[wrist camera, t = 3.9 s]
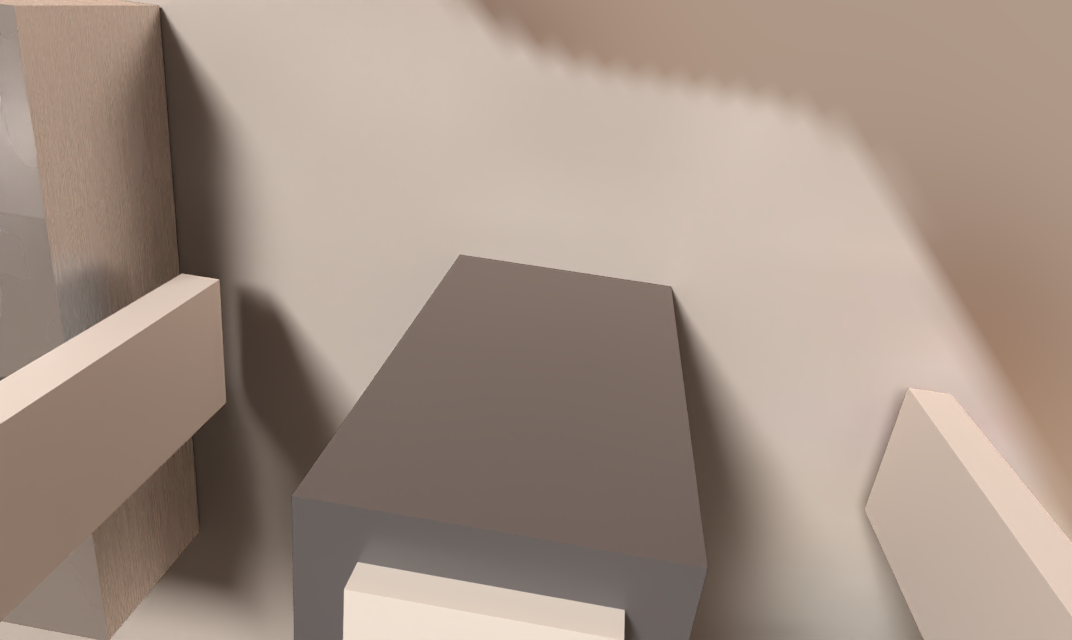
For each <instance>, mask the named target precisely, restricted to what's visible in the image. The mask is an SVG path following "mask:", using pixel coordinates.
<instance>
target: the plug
mask: <svg viewBox="0 0 1072 640" xmlns="http://www.w3.org/2000/svg"><path fill="white" fill-rule="evenodd" d="M292 537H293V598H294V640H689V638H690V634H691V630H692V626H693V622H694V619H695V615H696V611H697V607H698V604H699V600H700V596H701V592H702V588H703V585H704V581H705V577H706V573H707V570H708V566H707V558H706V551H705V543H704V535H703V528H702V520H701V512H700V504H699V497H698V489H697V481H696V474H695V466H694V458H693V451H692V443H691V435H690V428H689V420H688V412H687V405H686V397H685V389H684V382H683V374H682V366H681V359H680V351H679V343H678V335H677V328H676V320H675V312H674V305H673V297H672V289H671V286H664V285H658V284H651V283H644V282H638V281H631V280H624V279H618V278H611V277H605V276H598V275H591V274H585V273H578V272H571V271H565V270H558V269H552V268H545V267H538V266H532V265H525V264H518V263H512V262H505V261H499V260H492V259H485V258H479V257H472V256H465V255H459V257H458V258H457V260H456V261H455V263H454V264H453V265H452V267H451V268H450V270H449V271H448V273H447V274H446V275H445V277H444V278H443V280H442V281H441V283H440V284H439V285H438V287H437V288H436V290H435V291H434V293H433V294H432V295H431V297H430V298H429V300H428V301H427V303H426V304H425V306H424V307H423V308H422V310H421V311H420V313H419V314H418V316H417V317H416V318H415V320H414V321H413V323H412V324H411V326H410V327H409V328H408V330H407V331H406V333H405V334H404V336H403V337H402V339H401V340H400V341H399V343H398V344H397V346H396V347H395V349H394V350H393V351H392V353H391V354H390V356H389V357H388V359H387V360H386V361H385V363H384V364H383V366H382V367H381V369H380V370H379V371H378V373H377V374H376V376H375V377H374V379H373V380H372V382H371V383H370V384H369V386H368V387H367V389H366V390H365V392H364V393H363V394H362V396H361V397H360V399H359V400H358V402H357V403H356V404H355V406H354V407H353V409H352V410H351V412H350V413H349V414H348V416H347V417H346V419H345V420H344V422H343V423H342V425H341V426H340V427H339V429H338V430H337V432H336V433H335V435H334V436H333V437H332V439H331V440H330V442H329V443H328V445H327V446H326V447H325V449H324V450H323V452H322V453H321V455H320V456H319V457H318V459H317V460H316V462H315V463H314V465H313V466H312V468H311V469H310V470H309V472H308V473H307V475H306V476H305V478H304V479H303V480H302V482H301V483H300V485H299V486H298V488H297V489H296V490H295V492H294V493H293V495H292Z"/></svg>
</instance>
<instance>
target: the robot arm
mask: <svg viewBox="0 0 1072 640" xmlns="http://www.w3.org/2000/svg"><path fill="white" fill-rule="evenodd" d="M225 403H226V389H225V371H224V352H223V334H222V316H221V297H220V279H214V278H208V277H201V276H195V275H189V274H180V275H178V276H177V277H175V278H173V279H172V280H170V281H168V282H167V283H165V284H163V285H161V286H160V287H158V288H156V289H155V290H153V291H151V292H150V293H148V294H146V295H145V296H143V297H141V298H139V299H138V300H136V301H134V302H133V303H131V304H129V305H128V306H126V307H124V308H123V309H121V310H119V311H118V312H116V313H114V314H112V315H111V316H109V317H107V318H106V319H104V320H102V321H101V322H99V323H97V324H96V325H94V326H92V327H90V328H89V329H87V330H85V331H84V332H82V333H80V334H79V335H77V336H75V337H74V338H72V339H70V340H68V341H67V342H65V343H63V344H62V345H60V346H58V347H57V348H55V349H53V350H52V351H50V352H48V353H47V354H45V355H43V356H41V357H40V358H38V359H36V360H35V361H33V362H31V363H30V364H28V365H26V366H25V367H23V368H21V369H19V370H18V371H16V372H14V373H13V374H11V375H9V376H8V377H5V376H4V377H1V378H0V622H1V621H2V620H3V619H4V618H5V617H6V616H7V615H8V614H9V613H10V612H11V611H12V610H13V609H14V608H15V607H16V606H17V605H18V604H19V603H20V602H21V601H23V600H24V599H25V598H26V597H27V596H28V595H29V594H30V593H31V592H32V591H33V590H34V589H35V588H36V587H37V586H38V585H39V584H40V583H41V582H42V581H43V580H44V579H45V578H46V577H47V576H48V575H49V574H50V573H51V572H52V571H53V570H54V569H55V568H56V567H58V566H59V565H60V564H61V563H62V562H63V561H64V560H65V559H66V558H67V557H68V556H69V555H70V554H71V553H72V552H73V551H74V550H75V549H76V548H77V547H78V546H79V545H80V544H81V543H82V542H83V541H84V540H85V539H86V538H87V537H88V536H89V535H90V534H91V533H93V532H94V531H95V530H96V529H97V528H98V527H99V526H100V525H101V524H102V523H103V522H104V521H105V520H106V519H107V518H108V517H109V516H110V515H111V514H112V513H113V512H114V511H115V510H116V509H117V508H118V507H119V506H120V505H121V504H122V503H123V502H124V501H125V500H126V499H128V498H129V497H130V496H131V495H132V494H133V493H134V492H135V491H136V490H137V489H138V488H139V487H140V486H141V485H142V484H143V483H144V482H145V481H146V480H147V479H148V478H149V477H150V476H151V475H152V474H153V473H154V472H155V471H156V470H157V469H158V468H159V467H160V466H161V465H163V464H164V463H165V462H166V461H167V460H168V459H169V458H170V457H171V456H172V455H173V454H174V453H175V452H176V451H177V450H178V449H179V448H180V447H181V446H182V445H183V444H184V443H185V442H186V441H187V440H188V439H189V438H190V437H191V436H192V435H193V434H194V433H195V432H196V431H197V430H199V429H200V428H201V427H202V426H203V425H204V424H205V423H206V422H207V421H208V420H209V419H210V418H211V417H212V416H213V415H214V414H215V413H216V412H217V411H218V410H219V409H220V408H221V407H222V406H223V405H224V404H225ZM865 512H866V514H867V516H868V518H869V521H870V523H871V525H872V527H873V529H874V532H875V534H876V536H877V538H878V540H879V543H880V545H881V547H882V549H883V551H884V554H885V556H886V558H887V560H888V562H889V565H890V567H891V569H892V571H893V573H894V576H895V578H896V580H897V582H898V584H899V587H900V589H901V591H902V593H903V595H904V598H905V600H906V602H907V604H908V606H909V609H910V611H911V613H912V615H913V617H914V620H915V622H916V624H917V626H918V628H919V631H920V633H921V635H922V637H923V639H924V640H1072V542H1071V541H1070V540H1069V539H1068V538H1067V536H1066V535H1065V534H1064V533H1063V531H1062V530H1061V529H1060V528H1059V526H1058V525H1057V524H1056V523H1055V522H1054V520H1053V519H1052V518H1051V517H1050V515H1049V514H1048V513H1047V512H1046V510H1045V509H1044V508H1043V507H1042V506H1041V504H1040V503H1039V502H1038V501H1037V499H1036V498H1035V497H1034V496H1033V494H1032V493H1031V492H1030V491H1029V490H1028V488H1027V487H1026V486H1025V485H1024V483H1023V482H1022V481H1021V480H1020V478H1019V477H1018V476H1017V475H1016V474H1015V472H1014V471H1013V470H1012V469H1011V467H1010V466H1009V465H1008V464H1007V462H1006V461H1005V460H1004V459H1003V458H1002V456H1001V455H1000V454H999V453H998V451H997V450H996V449H995V448H994V446H993V445H992V444H991V443H990V441H989V440H988V439H987V438H986V437H985V435H984V434H983V433H982V432H981V430H980V429H979V428H978V427H977V425H976V424H975V423H974V422H973V421H972V419H971V418H970V417H969V416H968V414H967V413H966V412H965V411H964V409H963V408H962V407H961V406H960V405H959V403H958V402H957V401H956V400H955V398H954V397H953V396H952V395H951V394H947V393H940V392H934V391H927V390H921V389H915V388H908V390H907V392H906V395H905V398H904V401H903V404H902V406H901V409H900V412H899V415H898V418H897V420H896V423H895V426H894V429H893V432H892V434H891V437H890V440H889V443H888V446H887V448H886V451H885V454H884V457H883V460H882V462H881V465H880V468H879V471H878V474H877V476H876V479H875V482H874V485H873V488H872V491H871V493H870V496H869V499H868V502H867V505H866V507H865Z"/></svg>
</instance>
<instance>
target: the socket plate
mask: <svg viewBox="0 0 1072 640" xmlns="http://www.w3.org/2000/svg"><path fill="white" fill-rule="evenodd" d="M178 275H180V271H179V258H178V245H177V232H176V219H175V206H174V193H173V180H172V167H171V154H170V141H169V128H168V115H167V102H166V89H165V76H164V63H163V50H162V37H161V24H160V11H159V5H152V4H144V3H137V2H129V1H122V0H0V378H1V377H4V376H5V377H8V376H9V375H11V374H13V373H14V372H16V371H18V370H19V369H21V368H23V367H25V366H26V365H28V364H30V363H31V362H33V361H35V360H36V359H38V358H40V357H41V356H43V355H45V354H47V353H48V352H50V351H52V350H53V349H55V348H57V347H58V346H60V345H62V344H63V343H65V342H67V341H68V340H70V339H72V338H74V337H75V336H77V335H79V334H80V333H82V332H84V331H85V330H87V329H89V328H90V327H92V326H94V325H96V324H97V323H99V322H101V321H102V320H104V319H106V318H107V317H109V316H111V315H112V314H114V313H116V312H118V311H119V310H121V309H123V308H124V307H126V306H128V305H129V304H131V303H133V302H134V301H136V300H138V299H139V298H141V297H143V296H145V295H146V294H148V293H150V292H151V291H153V290H155V289H156V288H158V287H160V286H161V285H163V284H165V283H167V282H168V281H170V280H172V279H173V278H175V277H177V276H178ZM198 532H199V518H198V505H197V492H196V479H195V466H194V453H193V440H192V436H191V437H190V438H189V439H188V440H187V441H186V442H185V443H184V444H183V445H182V446H181V447H180V448H179V449H178V450H177V451H176V452H175V453H174V454H173V455H172V456H171V457H170V458H169V459H168V460H167V461H166V462H165V463H164V464H163V465H161V466H160V467H159V468H158V469H157V470H156V471H155V472H154V473H153V474H152V475H151V476H150V477H149V478H148V479H147V480H146V481H145V482H144V483H143V484H142V485H141V486H140V487H139V488H138V489H137V490H136V491H135V492H134V493H133V494H132V495H131V496H130V497H129V498H128V499H126V500H125V501H124V502H123V503H122V504H121V505H120V506H119V507H118V508H117V509H116V510H115V511H114V512H113V513H112V514H111V515H110V516H109V517H108V518H107V519H106V520H105V521H104V522H103V523H102V524H101V525H100V526H99V527H98V528H97V529H96V530H95V531H94V532H93V533H91V534H90V535H89V536H88V537H87V538H86V539H85V540H84V541H83V542H82V543H81V544H80V545H79V546H78V547H77V548H76V549H75V550H74V551H73V552H72V553H71V554H70V555H69V556H68V557H67V558H66V559H65V560H64V561H63V562H62V563H61V564H60V565H59V566H58V567H56V568H55V569H54V570H53V571H52V572H51V573H50V574H49V575H48V576H47V577H46V578H45V579H44V580H43V581H42V582H41V583H40V584H39V585H38V586H37V587H36V588H35V589H34V590H33V591H32V592H31V593H30V594H29V595H28V596H27V597H26V598H25V599H24V600H23V601H21V602H20V603H19V604H18V605H17V606H16V607H15V608H14V609H13V610H12V611H11V612H10V613H9V614H8V615H7V616H6V617H5V618H4V619H3V620H2V621H4V622H9V623H14V624H19V625H24V626H30V627H35V628H40V629H45V630H51V631H56V632H61V633H66V634H71V635H77V636H82V637H87V638H92V639H98V640H110V639H111V637H112V636H113V635H114V634H115V633H116V631H117V630H118V629H119V628H120V627H121V625H122V624H123V623H124V622H125V621H126V619H127V618H128V617H129V616H130V615H131V613H132V612H133V611H134V610H135V608H136V607H137V606H138V605H139V604H140V602H141V601H142V600H143V599H144V598H145V596H146V595H147V594H148V593H149V592H150V590H151V589H152V588H153V587H154V586H155V584H156V583H157V582H158V581H159V580H160V578H161V577H162V576H163V575H164V573H165V572H166V571H167V570H168V569H169V567H170V566H171V565H172V564H173V563H174V561H175V560H176V559H177V558H178V557H179V555H180V554H181V553H182V552H183V551H184V549H185V548H186V547H187V546H188V544H189V543H190V542H191V541H192V540H193V538H194V537H195V536H196V535H197V534H198Z"/></svg>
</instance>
